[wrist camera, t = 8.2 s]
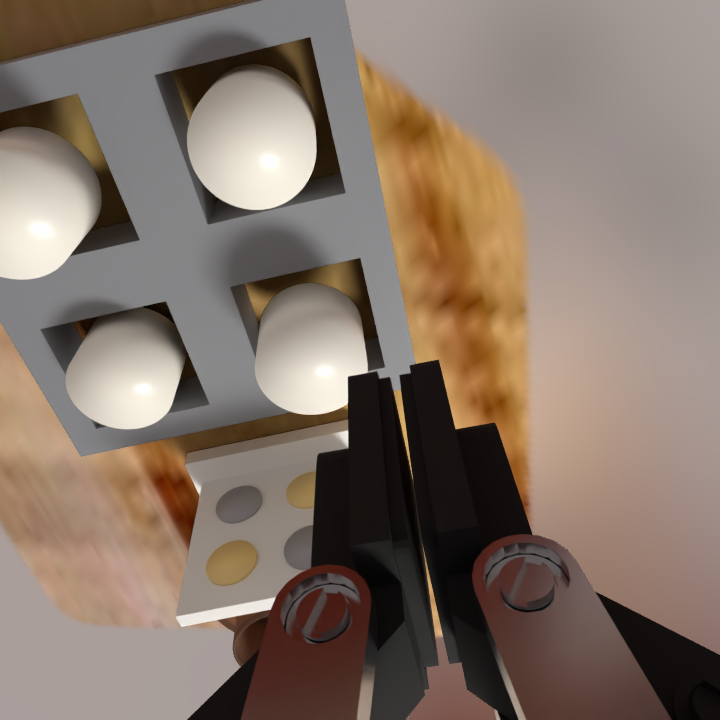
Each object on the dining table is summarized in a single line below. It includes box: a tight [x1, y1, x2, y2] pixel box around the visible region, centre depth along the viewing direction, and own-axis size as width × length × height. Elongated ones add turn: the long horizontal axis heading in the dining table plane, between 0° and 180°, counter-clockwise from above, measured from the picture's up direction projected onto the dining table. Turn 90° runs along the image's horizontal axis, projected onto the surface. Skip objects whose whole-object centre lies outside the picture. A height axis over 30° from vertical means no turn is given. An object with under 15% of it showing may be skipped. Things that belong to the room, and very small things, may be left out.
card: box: [176, 420, 348, 627], centre depth 34 cm, size 10×3×10 cm, turn 102°
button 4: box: [65, 307, 186, 429], centre depth 31 cm, size 5×5×4 cm
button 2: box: [255, 283, 368, 415], centre depth 29 cm, size 5×5×4 cm
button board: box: [0, 0, 415, 457], centre depth 29 cm, size 18×18×3 cm
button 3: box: [0, 127, 102, 280], centre depth 24 cm, size 5×5×4 cm
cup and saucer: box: [218, 610, 271, 666], centre depth 41 cm, size 12×12×6 cm
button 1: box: [187, 64, 317, 210], centre depth 25 cm, size 5×5×4 cm
